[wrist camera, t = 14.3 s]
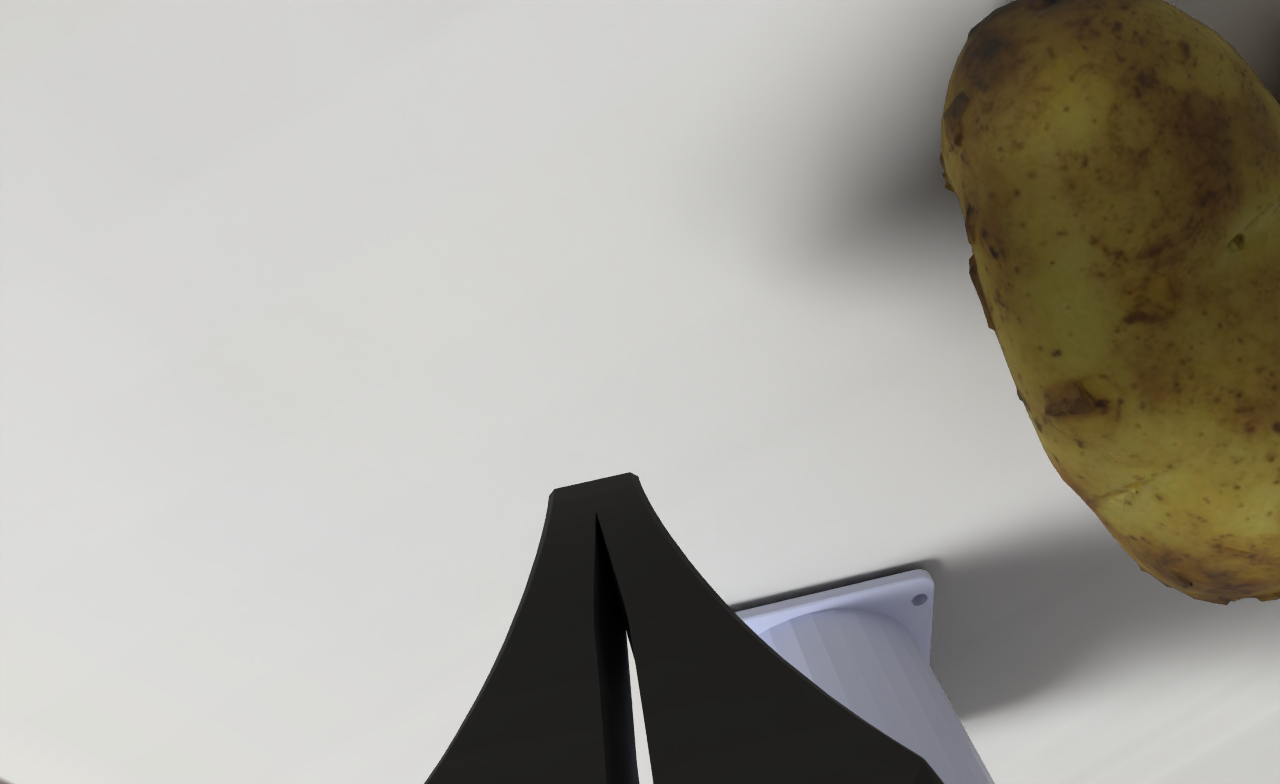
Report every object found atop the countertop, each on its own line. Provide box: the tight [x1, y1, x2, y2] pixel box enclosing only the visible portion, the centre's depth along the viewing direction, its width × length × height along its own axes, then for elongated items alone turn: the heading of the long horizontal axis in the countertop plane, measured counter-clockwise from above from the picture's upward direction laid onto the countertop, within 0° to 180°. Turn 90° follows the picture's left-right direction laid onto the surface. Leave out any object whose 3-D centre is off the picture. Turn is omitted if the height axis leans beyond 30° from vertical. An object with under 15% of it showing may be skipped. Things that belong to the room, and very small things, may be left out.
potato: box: [940, 0, 1280, 605], centre depth 16 cm, size 8×13×8 cm, turn 15°
